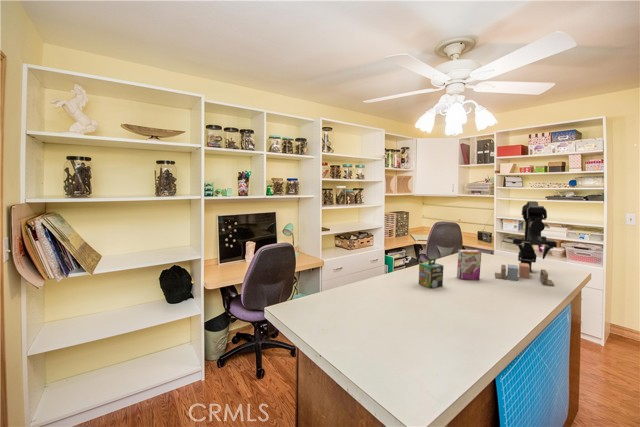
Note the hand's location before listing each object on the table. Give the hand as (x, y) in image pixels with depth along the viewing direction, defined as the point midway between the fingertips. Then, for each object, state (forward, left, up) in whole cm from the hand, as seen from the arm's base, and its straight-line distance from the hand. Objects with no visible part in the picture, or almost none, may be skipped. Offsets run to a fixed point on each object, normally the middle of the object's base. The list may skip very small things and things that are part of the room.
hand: (532, 257), depth 156 cm
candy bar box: (+6, -30, -15) cm, 34 cm away
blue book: (-7, -8, -15) cm, 18 cm away
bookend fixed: (-7, -14, -15) cm, 22 cm away
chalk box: (+28, -47, -15) cm, 57 cm away
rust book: (-15, -2, -15) cm, 21 cm away
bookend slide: (-7, +8, -15) cm, 18 cm away
